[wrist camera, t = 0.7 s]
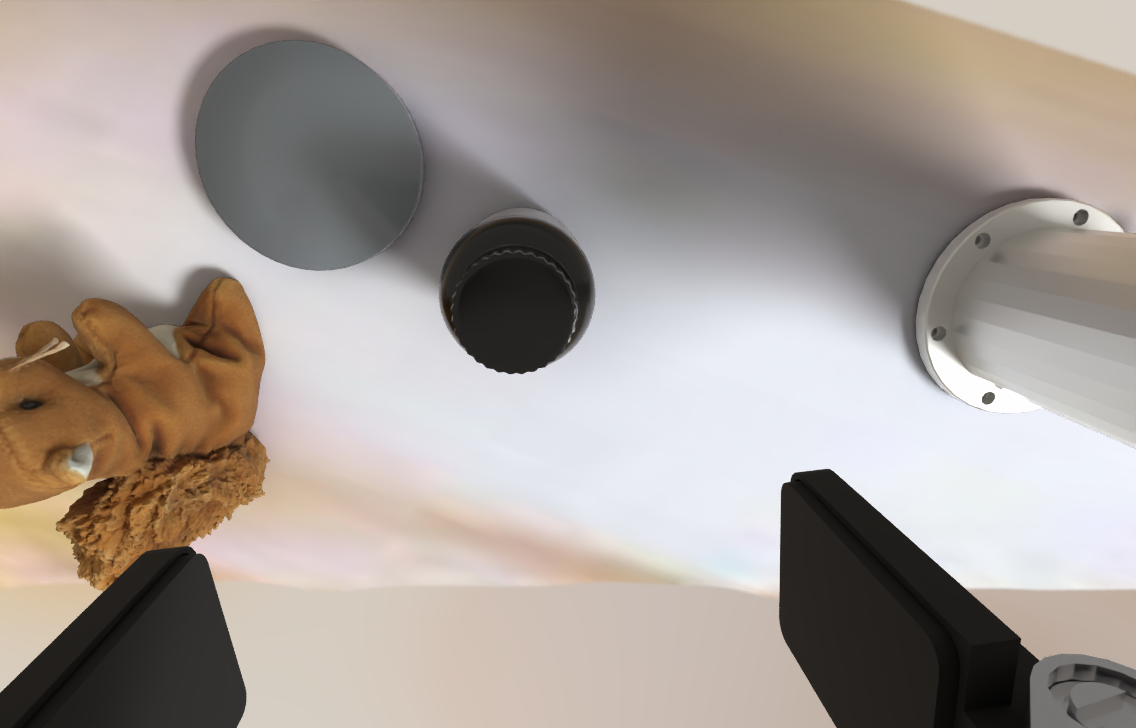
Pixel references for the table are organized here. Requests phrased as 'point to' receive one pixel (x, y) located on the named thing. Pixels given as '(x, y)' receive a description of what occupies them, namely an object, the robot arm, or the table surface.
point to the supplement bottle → (517, 291)
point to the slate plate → (309, 155)
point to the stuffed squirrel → (135, 425)
